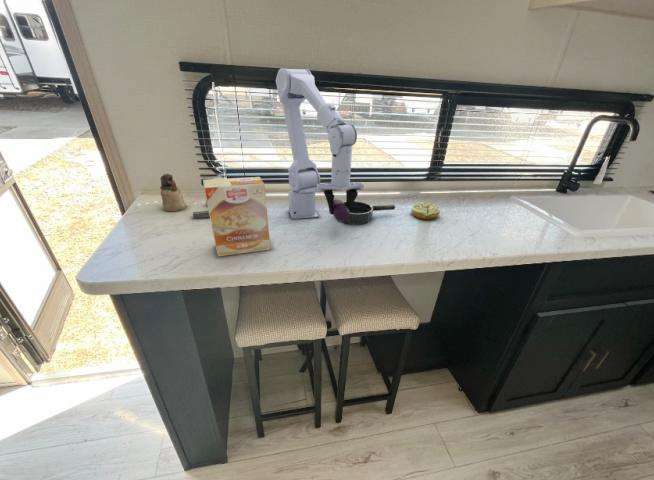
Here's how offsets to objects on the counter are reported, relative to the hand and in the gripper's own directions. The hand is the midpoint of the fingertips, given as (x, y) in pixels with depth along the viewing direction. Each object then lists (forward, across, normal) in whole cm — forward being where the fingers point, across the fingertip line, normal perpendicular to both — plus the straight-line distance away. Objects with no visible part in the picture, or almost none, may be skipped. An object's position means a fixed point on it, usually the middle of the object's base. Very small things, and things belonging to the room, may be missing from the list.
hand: (339, 212), depth 108 cm
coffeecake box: (+7, -31, -6) cm, 32 cm away
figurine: (+7, -53, +30) cm, 61 cm away
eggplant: (+2, 0, +1) cm, 2 cm away
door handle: (+7, -38, +23) cm, 45 cm away
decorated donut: (+7, +37, +9) cm, 39 cm away
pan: (+7, +9, +11) cm, 16 cm away
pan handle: (+4, +20, +11) cm, 23 cm away
